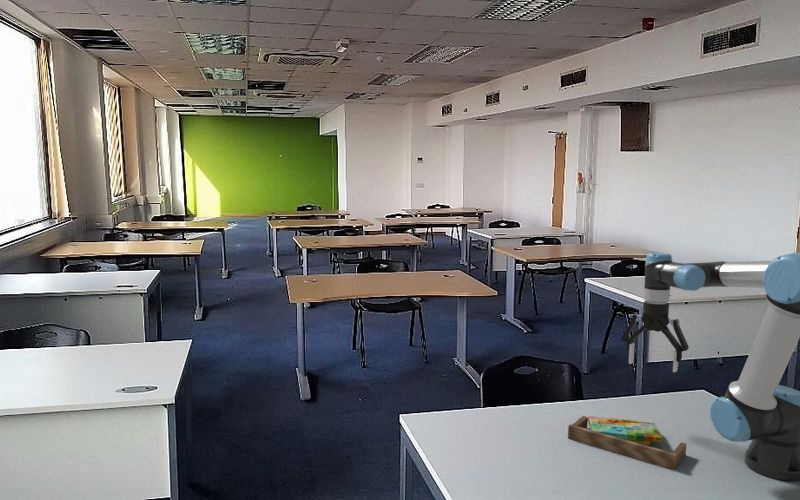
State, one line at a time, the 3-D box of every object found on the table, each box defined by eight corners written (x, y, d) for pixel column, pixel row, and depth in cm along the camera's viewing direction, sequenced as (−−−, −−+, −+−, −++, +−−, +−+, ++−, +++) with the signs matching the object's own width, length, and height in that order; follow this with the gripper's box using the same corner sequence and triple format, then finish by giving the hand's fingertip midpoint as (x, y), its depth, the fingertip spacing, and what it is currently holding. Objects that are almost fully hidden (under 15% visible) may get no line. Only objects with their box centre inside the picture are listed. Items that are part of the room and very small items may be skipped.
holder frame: (685, 455, 181) (686, 442, 181) (674, 469, 173) (675, 455, 172) (582, 426, 200) (583, 414, 200) (567, 438, 192) (568, 425, 191)
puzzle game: (588, 414, 199) (654, 419, 196) (587, 428, 200) (653, 433, 196) (592, 429, 188) (663, 435, 184) (591, 444, 189) (662, 450, 185)
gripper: (701, 305, 193) (697, 371, 195) (620, 295, 208) (617, 357, 211) (695, 308, 187) (691, 377, 190) (612, 298, 202) (609, 362, 205)
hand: (652, 367), depth 200 cm, fingers open, 13 cm apart
